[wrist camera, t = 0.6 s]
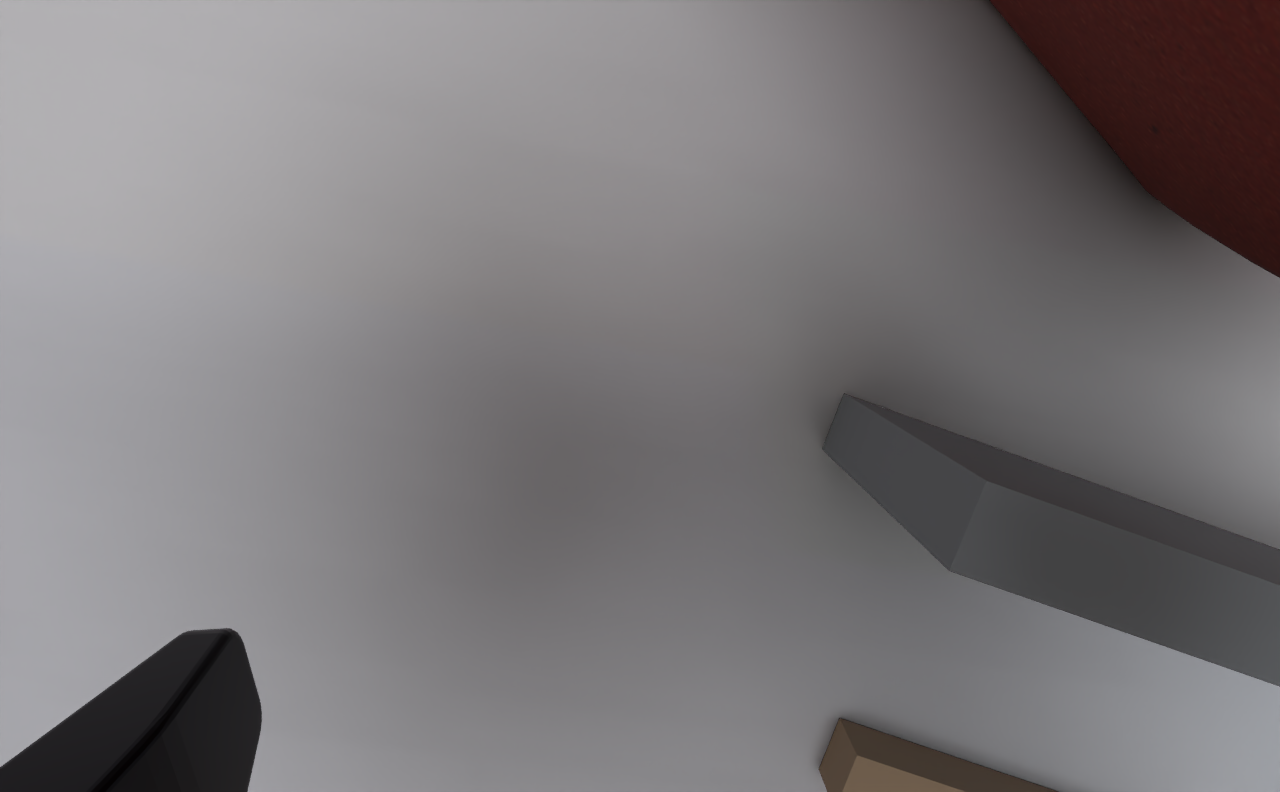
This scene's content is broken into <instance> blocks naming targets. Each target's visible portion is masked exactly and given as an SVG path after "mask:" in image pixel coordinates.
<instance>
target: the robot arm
mask: <svg viewBox="0 0 1280 792" xmlns="http://www.w3.org/2000/svg"><path fill="white" fill-rule="evenodd" d="M261 722H262V711H261V703H260V699H259V695H258V692H257V688H256V685H255V681H254V678H253V674H252V671H251V667H250V664H249V660H248V657H247V653H246V650H245V646H244V643H243V641H242V639H241V637H240V635H239V634H238V633H237V632H236V631H234V630H232V629H229V628H224V629H207V630H193V631H187V632H184V633H182V634H181V635H179V636H178V637H176V638H175V639H173V640H172V641H171V642H169V643H168V644H167V645H165V646H164V647H163V648H161V649H160V650H159V651H157V652H156V653H154V654H153V655H152V656H150V657H149V658H148V659H146V660H145V661H144V662H142V663H141V664H140V665H138V666H137V667H136V668H134V669H133V670H131V671H130V672H129V673H127V674H126V675H125V676H123V677H122V678H121V679H119V680H118V681H117V682H115V683H114V684H112V685H111V686H110V687H108V688H107V689H106V690H104V691H103V692H102V693H100V694H99V695H98V696H96V697H95V698H94V699H92V700H91V701H89V702H88V703H87V704H85V705H84V706H83V707H81V708H80V709H79V710H77V711H76V712H75V713H73V714H72V715H70V716H69V717H68V718H66V719H65V720H64V721H62V722H61V723H60V724H58V725H57V726H56V727H54V728H53V729H52V730H50V731H49V732H47V733H46V734H45V735H43V736H42V737H41V738H39V739H38V740H37V741H35V742H34V743H33V744H31V745H30V746H29V747H27V748H26V749H24V750H23V751H22V752H20V753H19V754H18V755H16V756H15V757H14V758H12V759H11V760H10V761H8V762H7V763H5V764H4V765H3V766H1V767H0V792H247V791H248V786H249V782H250V777H251V773H252V768H253V763H254V759H255V754H256V750H257V745H258V741H259V736H260V731H261Z"/></svg>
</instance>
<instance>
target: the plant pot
mask: <svg viewBox="0 0 1280 792" xmlns="http://www.w3.org/2000/svg"><path fill="white" fill-rule="evenodd" d="M989 1H990V2H991V3H992V4H993V5H994V7H995V8H996V9H997V10H998V11H999V13H1000V14H1001V15H1002V16H1003V17H1004V19H1005V20H1006V21H1007V22H1008V24H1009V25H1010V26H1011V27H1012V28H1013V30H1014V31H1015V32H1016V33H1017V34H1018V36H1019V37H1020V38H1021V39H1022V40H1023V42H1024V43H1025V44H1026V45H1027V47H1028V48H1029V49H1030V50H1031V51H1032V53H1033V54H1034V55H1035V56H1036V57H1037V59H1038V60H1039V61H1040V62H1041V64H1042V65H1043V66H1044V67H1045V68H1046V70H1047V71H1048V72H1049V73H1050V74H1051V76H1052V77H1053V78H1054V79H1055V80H1056V82H1057V83H1058V84H1059V85H1060V87H1061V88H1062V89H1063V90H1064V91H1065V93H1066V94H1067V95H1068V96H1069V97H1070V99H1071V100H1072V101H1073V102H1074V103H1075V105H1076V106H1077V107H1078V108H1079V110H1080V111H1081V112H1082V113H1083V114H1084V115H1085V117H1086V118H1087V119H1088V120H1089V121H1090V123H1091V124H1092V125H1093V126H1094V127H1095V129H1096V130H1097V131H1098V132H1099V133H1100V134H1101V136H1102V137H1103V138H1104V139H1105V140H1106V142H1107V143H1108V144H1109V145H1110V146H1111V148H1112V149H1113V150H1114V151H1115V152H1116V154H1117V155H1118V156H1119V157H1120V159H1121V160H1122V161H1123V162H1124V164H1125V165H1126V166H1127V167H1128V169H1129V170H1130V171H1131V172H1132V174H1133V175H1134V176H1135V177H1136V179H1137V180H1138V181H1139V182H1140V184H1141V185H1142V186H1143V187H1144V189H1145V190H1146V191H1147V192H1148V193H1149V194H1151V195H1152V196H1153V197H1155V198H1156V199H1157V200H1159V201H1160V202H1161V203H1162V204H1164V205H1165V206H1166V207H1168V208H1169V209H1170V210H1172V211H1173V212H1175V213H1176V214H1178V215H1179V216H1180V217H1182V218H1183V219H1185V220H1186V221H1187V222H1189V223H1190V224H1192V225H1193V226H1195V227H1196V228H1198V229H1199V230H1201V231H1202V232H1204V233H1206V234H1207V235H1209V236H1211V237H1212V238H1214V239H1215V240H1217V241H1219V242H1220V243H1222V244H1223V245H1225V246H1227V247H1228V248H1230V249H1232V250H1233V251H1235V252H1236V253H1238V254H1240V255H1241V256H1243V257H1244V258H1246V259H1248V260H1249V261H1251V262H1253V263H1254V264H1256V265H1258V266H1260V267H1262V268H1263V269H1265V270H1267V271H1269V272H1270V273H1272V274H1274V275H1276V276H1277V277H1279V278H1280V0H989Z"/></svg>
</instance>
